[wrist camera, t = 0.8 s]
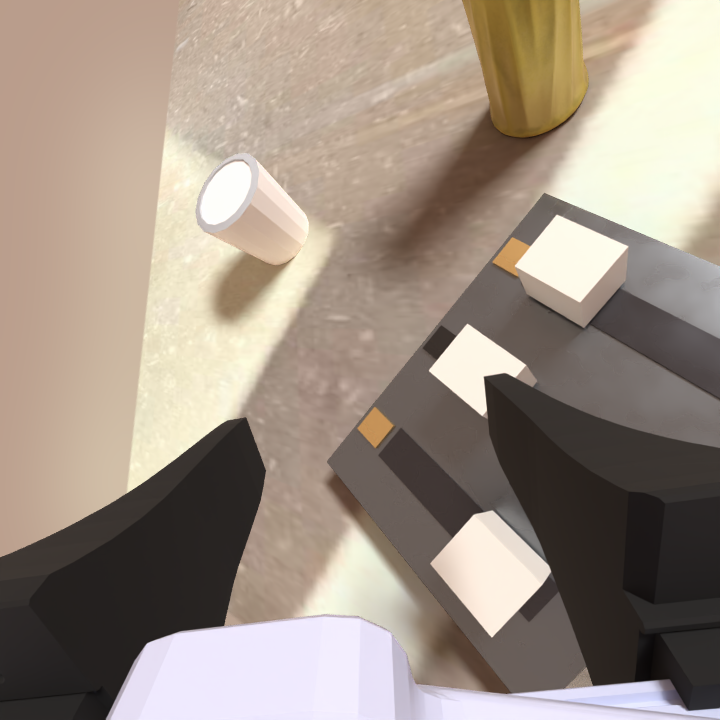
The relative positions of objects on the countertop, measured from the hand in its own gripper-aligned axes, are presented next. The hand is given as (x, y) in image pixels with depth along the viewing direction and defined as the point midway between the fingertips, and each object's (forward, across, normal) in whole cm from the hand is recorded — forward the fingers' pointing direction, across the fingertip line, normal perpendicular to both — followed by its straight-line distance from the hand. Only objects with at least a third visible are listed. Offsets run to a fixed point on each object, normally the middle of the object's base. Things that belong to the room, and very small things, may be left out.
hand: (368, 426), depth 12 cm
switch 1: (+10, -6, +5) cm, 12 cm away
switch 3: (+11, -11, +1) cm, 16 cm away
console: (+9, -8, +8) cm, 14 cm away
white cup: (+28, +7, -3) cm, 29 cm away
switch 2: (+4, -4, +11) cm, 13 cm away
